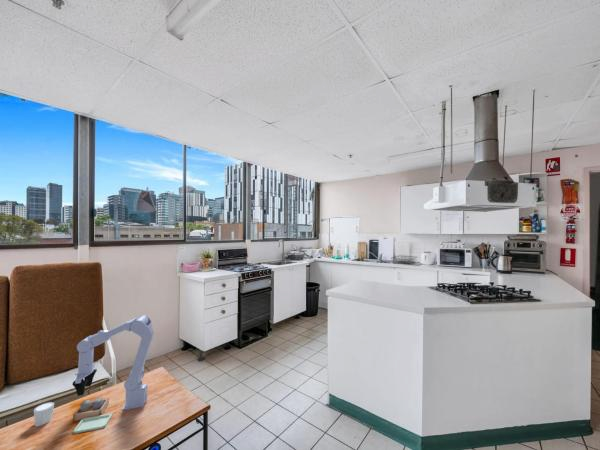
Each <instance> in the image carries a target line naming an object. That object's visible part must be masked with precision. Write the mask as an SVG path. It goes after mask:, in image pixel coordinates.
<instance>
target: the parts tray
mask: <svg viewBox="0 0 600 450" xmlns="http://www.w3.org/2000/svg"><path fill="white" fill-rule="evenodd" d="M113 414H114V413H112V412H111V413H105V414H102V415H99V416H94V417H88V418H83V419H82V420H79V422H78V424H77V425H76V427H75V428H74V429H73V430H72V435H75V434H79V433H83V432H84V433H85V432H89V431H95V430H101V429H105V428H106V426H107V425H108V423H109V422H110V420H111V419H112V417H113Z"/></svg>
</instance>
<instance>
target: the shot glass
mask: <svg viewBox="0 0 600 450" xmlns="http://www.w3.org/2000/svg"><path fill="white" fill-rule="evenodd" d="M54 409H55V402H53V401H49V402H45V403H41V404H40V405H38V406H36V407H35V408H34V409H33V420H34V422H33V423H34V427H40V426H43V425H45V424H47V423H49V422H51V420H52V419H53V413H54Z"/></svg>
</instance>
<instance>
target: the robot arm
mask: <svg viewBox="0 0 600 450" xmlns="http://www.w3.org/2000/svg"><path fill="white" fill-rule="evenodd" d="M124 331H127V332H133V333H134V334H135V335H137V336H139V337H140V338H141V339H140V343H139V346H138V349H137V353H136V356H135V357H134V362H133V365H132V368H131V371H130V372H129V375H128V377H127V379H125V381H124V384H123V387H124V389H125V398H124V399H125V400H124V401H125V402H124V405H123V406H122V408H121V410H123V411H124V410H131V409H136V408H141V407H142V408H143V407H144V406H145V403H146V402H147V399H148V384H147V383H145V384H143V380H142V379H143V378H144V377H145V371H144V370H145V363H146V361H147V357H148V354H149V350H150V347H151V343H152V341H153V336H154V328H153V326H152V319H150V317H149V316H148V315H145V314H144V315H140V316H138V317H135V318H132V319H130V320H128V321H125V322H123V323H122V324H121V323H120V325H117V326H116V327H112V329H109V330H108V329H100V330H99V331H97V333H95V334H91V335H89V336H86V337H85V338H84V339H82V340H80V341H79V342H78V344H77V345H76V350H77V352H78V365H77V371H76V372H75V373H74V375H75V376H76V379H75V380H73V382H72V386H73V387H74V388H75V392H76V394H77V396H78V397H79V396H84V394H85V389H86V388H87V387H91V386H92V384H93V381H94V377H95V374H96V373H97V371H98V370H97V369H96V368H95V364H94V356H95V355H94V353H95V352H94V351H95V347H97V346H99V345H102V344H103V343H106V342H108V341H110V339H111V338H112V337H113V336H115V335H117V334H120V333H122V332H124Z"/></svg>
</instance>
